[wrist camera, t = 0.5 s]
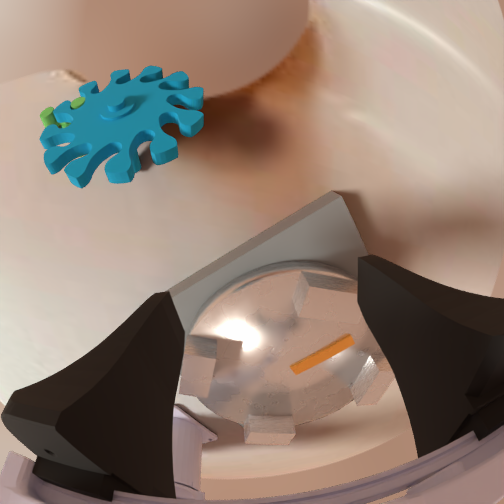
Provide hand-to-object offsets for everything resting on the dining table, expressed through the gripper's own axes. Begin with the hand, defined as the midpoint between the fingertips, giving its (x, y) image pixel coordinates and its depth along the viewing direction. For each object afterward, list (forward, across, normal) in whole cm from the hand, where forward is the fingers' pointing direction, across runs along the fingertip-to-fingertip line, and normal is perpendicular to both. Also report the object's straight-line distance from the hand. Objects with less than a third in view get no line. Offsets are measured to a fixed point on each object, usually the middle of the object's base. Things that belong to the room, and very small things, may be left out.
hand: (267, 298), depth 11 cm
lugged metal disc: (+8, -1, +11) cm, 13 cm away
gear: (+11, +7, -8) cm, 16 cm away
